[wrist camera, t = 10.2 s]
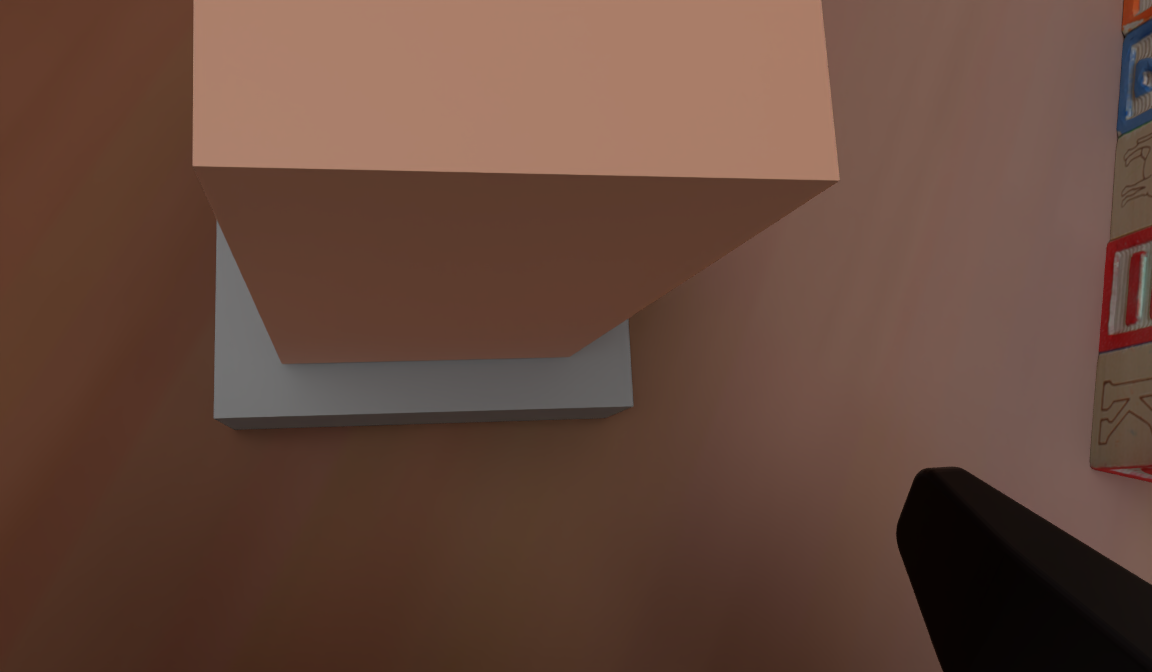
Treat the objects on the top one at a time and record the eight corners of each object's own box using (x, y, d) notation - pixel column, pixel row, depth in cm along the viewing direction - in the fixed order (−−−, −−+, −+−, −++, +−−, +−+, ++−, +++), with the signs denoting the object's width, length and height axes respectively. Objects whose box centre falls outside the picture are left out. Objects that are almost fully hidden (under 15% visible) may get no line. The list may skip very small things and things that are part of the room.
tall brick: (568, 357, 19) (838, 180, 9) (281, 363, 18) (193, 165, 7) (554, 96, 20) (784, -350, 10) (279, 85, 19) (195, -447, 8)
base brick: (601, 419, 22) (633, 406, 19) (237, 431, 21) (214, 418, 18) (583, 93, 24) (612, 35, 21) (241, 80, 22) (219, 15, 19)
